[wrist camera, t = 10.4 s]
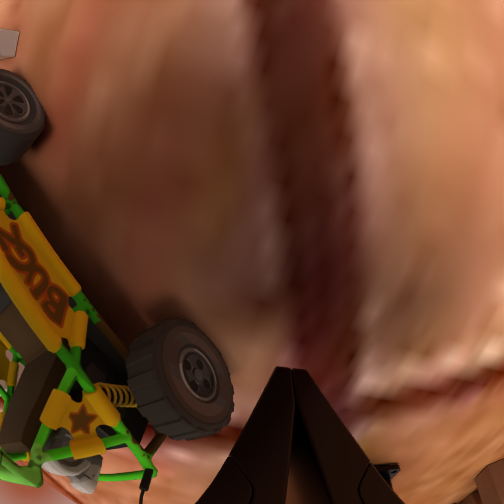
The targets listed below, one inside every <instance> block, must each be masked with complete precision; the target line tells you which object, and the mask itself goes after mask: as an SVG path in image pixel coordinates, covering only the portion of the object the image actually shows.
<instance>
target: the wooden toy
mask: <svg viewBox="0 0 504 504" xmlns="http://www.w3.org/2000/svg"><path fill="white" fill-rule="evenodd" d="M475 482H476V485H477V488H478V491H476V492H474V493H471V494H470V495H469V496H467V497H466V498H465V499H464V500H463V501H462V502H460V503H459V504H504V459H502V460H500V461H497V462H495V463H492V464H490V465H488V466H487V467H486V468H485V469H484V470H483V471H482V472H481V473H480V474H479V475H478V476H477V477H476V478H475Z"/></svg>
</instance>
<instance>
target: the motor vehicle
mask: <svg viewBox="0 0 504 504" xmlns="http://www.w3.org/2000/svg"><path fill="white" fill-rule="evenodd" d="M44 126H45V114H44V108H43V106H42V105H41V103H40V101H39V100H38V98H37V96H36V95H35V93H34V91H33V89H32V88H31V86H30V85H29V84H28V83H27V82H26V81H25V80H23V79H22V78H21V77H19V76H18V75H16V74H14V73H12V72H10V71H7V70H4V69H0V165H8V164H12V163H14V162H16V161H18V160H19V159H20V158H21V157H23V155H24V154H25V153H26V151H27V150H28V149H29V147H30V146H31V145H32V144H33V142H34V141H35V140H36V138H37V137H38V136H39V135H40V133H41V132H42V131H43V129H44ZM6 350H10V352H11V353H12V354H13V358H12V361H11V362H10V361H9V359H8V358H7V357H6ZM18 362H20V363H21V364H22V365H23V366H24V367H25V368H24V370H23V372H22V374H21V376H20V379H19V381H18V383H17V377H18V371H19V364H18ZM0 380H4V381H5V382H6V386H7V392H6V390H5V389H4V388H3V387H2V386H1V384H0V395H1V396H2V398H3V399H4V409H3V412H1V413H0V479H1V480H3V481H8V482H13V483H18V484H23V485H28V486H33V487H37V488H39V487H41V486H42V485H43V474H42V469H41V467H42V468H43V469H45V470H46V471H47V472H50V473H53V474H56V475H64V476H67V477H68V478H70V479H71V485H72V486H73V487H74V488H76V489H77V490H79V491H80V492H82V493H91V494H92V493H94V490H95V488H96V485H97V482H98V481H125V480H136V479H142V480H141V483H140V487H139V488H140V489H141V490H142V491H141V494H140V499H139V504H142V502H143V495H144V492H145V491H148V489H149V485H150V482H151V478H153V477H156V476H157V472H158V470H157V469H156V468H155V466H154V465H153V463H152V462H151V459H152V457H153V455H154V454H155V453H156V451H157V450H158V448H159V447H160V445H161V444H162V442H163V441H164V439H165V438H166V435H167V436H168V437H169V438H171V439H174V440H182V439H185V440H188V441H189V440H193V439H197V438H201V437H205V436H209V435H213V434H216V433H219V432H220V431H221V429H222V428H223V427H225V426H227V425H228V423H229V422H230V420H231V413H232V412H233V411H234V402H233V394H234V389H233V385H232V384H231V379H230V373H229V371H228V368H227V366H226V365H225V363H224V361H223V359H222V357H221V353H220V352H219V351H218V350H217V349H216V347H215V346H214V344H213V343H212V342H211V341H210V339H209V338H208V337H207V336H206V335H205V334H204V333H203V332H201V331H200V330H199V329H198V328H197V327H196V326H195V325H194V324H193V323H191V324H190V323H188V322H186V320H184V319H180V318H175V319H172V320H170V319H166V320H164V321H162V322H160V323H158V324H157V325H155V326H153V327H151V328H149V329H147V330H145V331H143V332H142V333H140V334H139V336H138V338H137V339H135V340H133V341H132V343H131V345H130V347H129V350H128V348H127V347H126V346H125V345H124V344H123V343H122V341H121V340H120V339H119V338H118V337H117V336H116V334H115V333H114V332H113V331H112V329H111V328H110V327H109V326H108V325H107V323H106V322H105V321H104V320H103V318H102V317H101V316H100V315H99V313H98V312H97V311H96V309H95V308H94V307H93V305H92V304H91V303H90V302H89V300H88V299H87V298H86V296H85V295H84V294H83V292H82V291H81V286H80V285H79V283H78V282H77V281H76V279H75V278H74V277H73V276H72V274H71V273H70V272H69V270H68V269H67V267H66V266H65V265H64V263H63V262H62V261H61V259H60V258H59V256H58V255H57V254H56V252H55V251H54V249H53V248H52V247H51V245H50V244H49V242H48V241H47V239H46V238H45V236H44V235H43V233H42V232H41V230H40V229H39V227H38V226H37V224H36V223H35V221H34V220H33V218H32V217H31V215H30V213H29V212H24V211H23V209H22V208H21V206H20V205H19V203H18V202H17V200H16V198H15V197H14V195H13V193H12V192H11V190H10V189H9V187H8V185H7V184H6V182H5V180H4V179H3V177H2V175H1V174H0ZM16 384H17V386H16ZM14 389H15V390H14ZM148 421H149V422H150V423H151V424H152V427H153V428H154V430H155V434H156V435H155V436H154V438H153V439H152V440H151V442H150V443H149V444H148V445H147V447H146V448H145V449H143V448H142V446H141V445H140V442H141V439H142V437H143V434H144V432H145V429H146V427H147V425H148ZM123 447H129V448H130V450H131V451H132V452H133V454H134V455H135V456H136V458H137V459H138V461H139V462H140V464H141V466H142V467H143V469H144V470H141V471H133V472H125V473H116V474H100V470H101V467H102V460H103V457H102V456H101V455H99V454H103V453H106V450H110V449H117V448H123ZM17 460H23V461H29V463H28V466H18V465H17V464H16V463H15V462H14V461H17Z"/></svg>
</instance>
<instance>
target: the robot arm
mask: <svg viewBox="0 0 504 504" xmlns="http://www.w3.org/2000/svg"><path fill="white" fill-rule="evenodd" d="M369 463H370V460H369V458H368V457H367V456H366V454H365V453H364V451H363V450H362V448H361V447H360V446H359V444H358V443H357V441H356V440H355V439H354V437H353V436H352V434H351V433H350V432H349V430H348V429H347V427H346V426H345V424H344V423H343V422H342V420H341V419H340V417H339V416H338V414H337V413H336V412H335V410H334V409H333V407H332V406H331V404H330V403H329V402H328V400H327V399H326V397H325V396H324V394H323V393H322V391H321V390H320V389H319V387H318V386H317V384H316V383H315V381H314V380H313V378H312V377H311V376H310V374H309V373H308V371H307V370H305V369H296V368H293V369H290V368H288V367H279V366H277V367H275V369H274V371H273V373H272V375H271V377H270V379H269V381H268V383H267V385H266V387H265V389H264V391H263V392H262V394H261V396H260V398H259V400H258V402H257V404H256V406H255V408H254V410H253V412H252V414H251V415H250V417H249V419H248V421H247V423H246V425H245V427H244V429H243V430H242V432H241V434H240V436H239V438H238V440H237V441H236V443H235V445H234V447H233V449H232V450H231V452H230V454H229V457H227V459H226V461H225V462H224V464H223V466H222V468H221V469H220V471H219V472H218V474H217V475H216V477H215V479H214V480H213V482H212V483H211V485H210V486H209V487H208V488H207V490H206V491H205V492H204V493H203V495H202V496H201V497H200V498H199V500H198V501H197V502H196V503H195V504H405V503H404V502H403V501H402V500H401V499H400V498H399V497H398V495H397V494H396V493H395V492H394V491H393V488H392V483H391V479H392V478H393V477H394V476H395V475H396V474H397V473H398V472H399V471H400V467H399V465H390V466H377V467H375V466H374V465H373V464H372V463H370V464H369Z"/></svg>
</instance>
